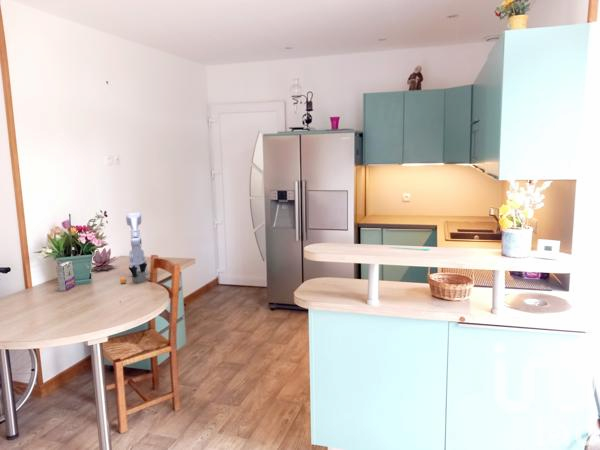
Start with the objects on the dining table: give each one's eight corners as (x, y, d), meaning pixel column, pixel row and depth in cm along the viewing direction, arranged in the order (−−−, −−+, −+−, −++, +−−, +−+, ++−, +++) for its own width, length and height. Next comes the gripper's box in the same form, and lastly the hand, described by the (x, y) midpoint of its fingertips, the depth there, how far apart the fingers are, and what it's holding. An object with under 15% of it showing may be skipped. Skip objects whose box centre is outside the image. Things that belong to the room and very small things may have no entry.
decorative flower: (123, 266, 338) (122, 247, 335) (104, 274, 317) (102, 253, 315) (100, 265, 343) (98, 246, 341) (79, 272, 323) (77, 252, 321)
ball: (123, 282, 294) (122, 276, 294) (127, 282, 293) (127, 276, 292) (118, 284, 291) (118, 278, 290) (123, 284, 289) (123, 278, 289)
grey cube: (138, 279, 300) (138, 271, 299) (146, 280, 297) (145, 271, 297) (132, 282, 294) (131, 273, 293) (139, 282, 292) (139, 274, 291)
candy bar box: (67, 286, 289) (65, 261, 286) (75, 285, 289) (73, 261, 286) (58, 291, 278) (55, 265, 275) (66, 291, 278) (63, 265, 275)
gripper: (134, 258, 285) (136, 279, 287) (149, 253, 298) (151, 273, 300) (125, 257, 288) (127, 278, 290) (141, 253, 301) (142, 272, 303)
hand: (138, 275), depth 295 cm, fingers open, 7 cm apart
